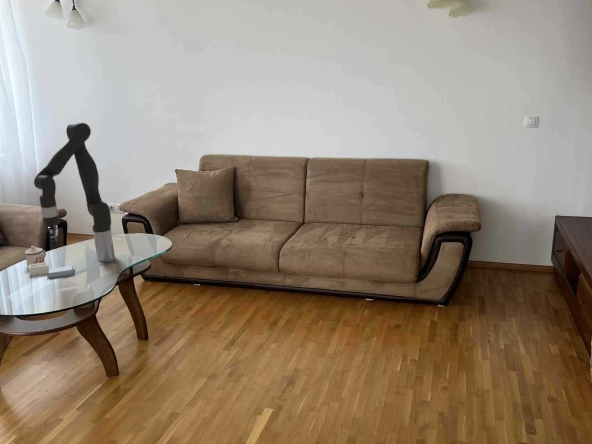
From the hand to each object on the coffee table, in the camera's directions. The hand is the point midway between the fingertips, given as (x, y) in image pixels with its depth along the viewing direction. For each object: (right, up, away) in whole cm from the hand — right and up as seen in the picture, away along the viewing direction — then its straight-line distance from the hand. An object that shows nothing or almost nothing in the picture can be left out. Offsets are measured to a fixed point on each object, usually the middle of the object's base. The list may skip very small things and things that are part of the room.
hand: (55, 245), depth 280 cm
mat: (+1, -16, +4) cm, 16 cm away
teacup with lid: (-18, -12, +21) cm, 30 cm away
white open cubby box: (-12, -15, +8) cm, 21 cm away
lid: (+1, -15, +4) cm, 15 cm away
